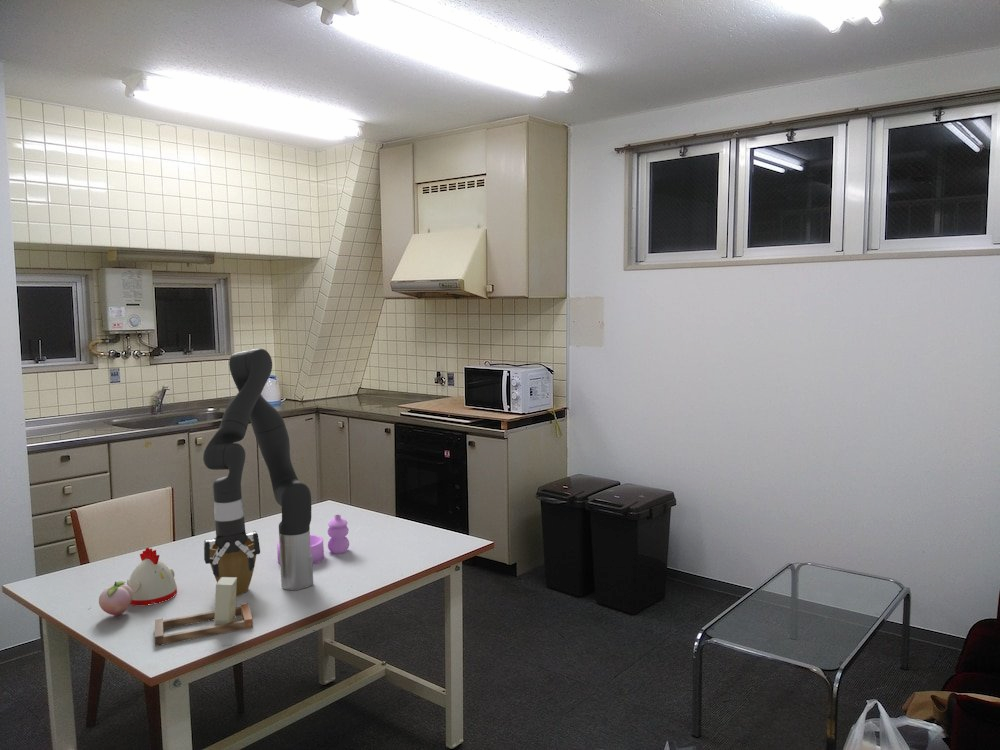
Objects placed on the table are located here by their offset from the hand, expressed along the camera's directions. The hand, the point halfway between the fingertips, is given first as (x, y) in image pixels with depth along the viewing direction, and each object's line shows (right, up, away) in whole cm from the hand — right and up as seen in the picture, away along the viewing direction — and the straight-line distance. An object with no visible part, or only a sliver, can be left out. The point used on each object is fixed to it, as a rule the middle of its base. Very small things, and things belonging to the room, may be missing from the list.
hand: (234, 573), depth 200 cm
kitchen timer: (-32, -13, +21) cm, 41 cm away
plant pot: (-8, -12, +23) cm, 28 cm away
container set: (+9, -9, +54) cm, 55 cm away
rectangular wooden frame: (-8, -15, -2) cm, 16 cm away
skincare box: (-3, -14, 0) cm, 14 cm away
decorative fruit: (-36, -14, +7) cm, 39 cm away
